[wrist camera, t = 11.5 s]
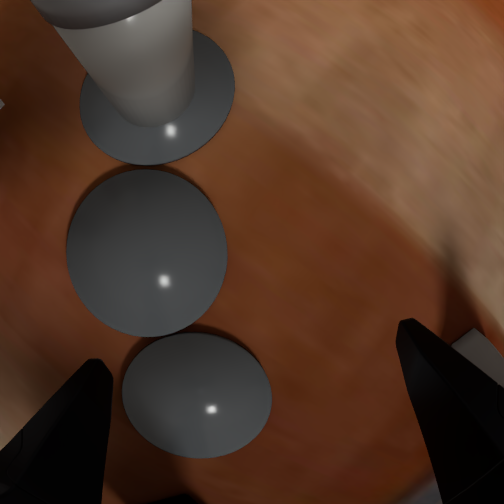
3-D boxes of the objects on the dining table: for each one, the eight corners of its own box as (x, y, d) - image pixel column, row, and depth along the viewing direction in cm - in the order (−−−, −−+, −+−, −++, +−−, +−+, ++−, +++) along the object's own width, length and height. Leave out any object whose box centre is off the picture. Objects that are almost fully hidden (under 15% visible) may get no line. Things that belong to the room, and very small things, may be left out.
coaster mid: (118, 358, 19) (116, 361, 18) (46, 221, 18) (43, 221, 17) (255, 288, 20) (256, 290, 19) (180, 142, 18) (179, 139, 18)
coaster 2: (175, 469, 20) (174, 473, 20) (96, 369, 19) (93, 372, 18) (293, 419, 21) (295, 423, 20) (226, 304, 20) (226, 306, 19)
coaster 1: (114, 195, 18) (112, 194, 18) (65, 73, 17) (63, 70, 16) (261, 122, 19) (262, 119, 18) (195, 11, 18) (195, 7, 17)
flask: (422, 374, 22) (503, 430, 12) (474, 312, 23) (562, 342, 13) (447, 415, 23) (513, 465, 13) (493, 359, 24) (564, 393, 14)
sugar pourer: (148, 146, 18) (60, 22, 5) (96, 93, 17) (-4, -34, 4) (215, 88, 18) (234, -78, 5) (160, 40, 17) (131, -116, 4)
